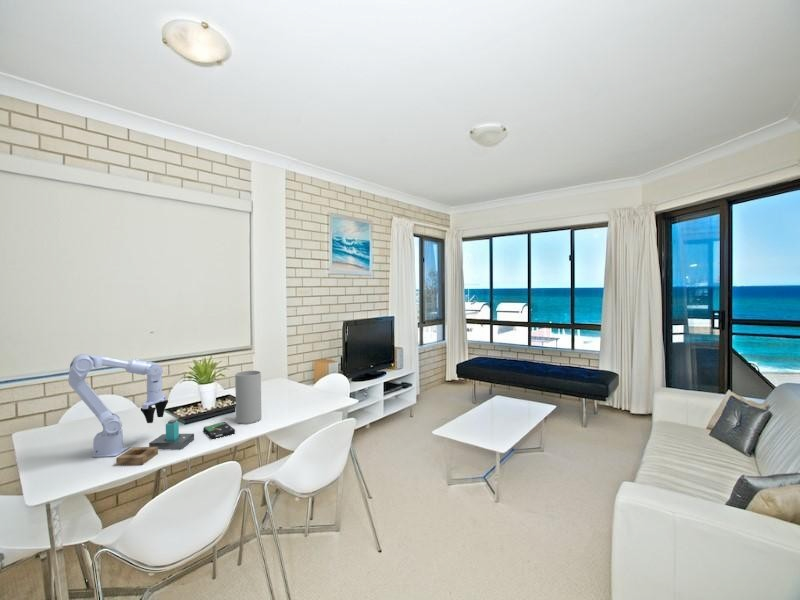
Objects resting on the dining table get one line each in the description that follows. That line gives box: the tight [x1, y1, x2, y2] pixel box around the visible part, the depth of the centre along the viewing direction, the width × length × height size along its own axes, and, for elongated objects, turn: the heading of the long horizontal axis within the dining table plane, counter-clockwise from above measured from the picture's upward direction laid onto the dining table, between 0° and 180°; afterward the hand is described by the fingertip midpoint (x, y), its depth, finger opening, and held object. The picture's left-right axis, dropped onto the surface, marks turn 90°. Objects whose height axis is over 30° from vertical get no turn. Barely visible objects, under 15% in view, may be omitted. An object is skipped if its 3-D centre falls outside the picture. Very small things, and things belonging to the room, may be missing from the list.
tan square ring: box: [115, 446, 159, 466], centre depth 152 cm, size 10×10×3 cm
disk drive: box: [202, 421, 236, 440], centre depth 180 cm, size 10×3×15 cm
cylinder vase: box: [234, 370, 262, 425], centre depth 196 cm, size 12×12×25 cm
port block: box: [148, 433, 195, 450], centre depth 166 cm, size 14×10×3 cm
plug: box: [165, 419, 180, 441], centre depth 166 cm, size 4×4×11 cm
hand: (155, 419), depth 168 cm, fingers open, 7 cm apart
